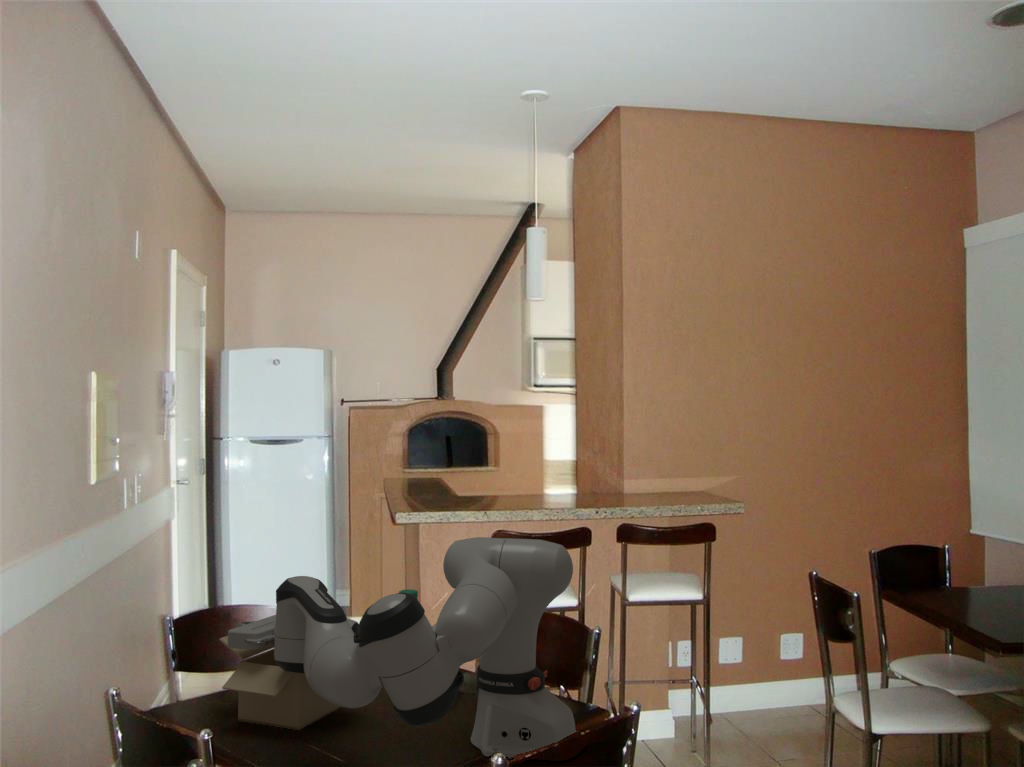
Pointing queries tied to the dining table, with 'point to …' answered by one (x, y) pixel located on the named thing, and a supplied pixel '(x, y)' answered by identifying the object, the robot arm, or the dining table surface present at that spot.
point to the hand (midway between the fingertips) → (239, 626)
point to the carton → (275, 694)
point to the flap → (244, 652)
